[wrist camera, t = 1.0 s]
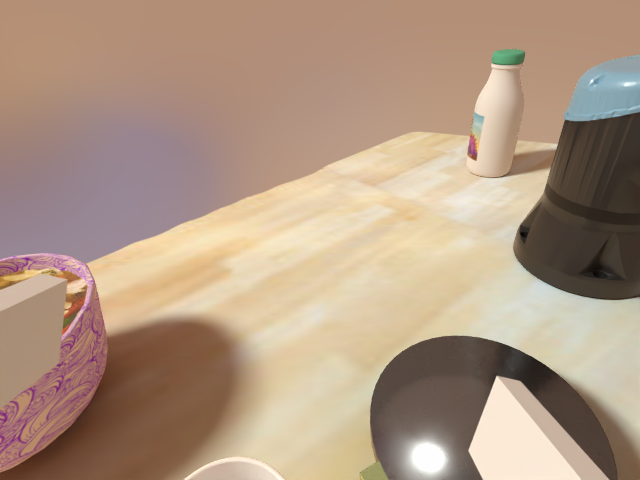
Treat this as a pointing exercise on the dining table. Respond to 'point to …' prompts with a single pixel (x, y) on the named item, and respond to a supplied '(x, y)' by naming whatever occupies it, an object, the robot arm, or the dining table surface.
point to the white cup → (236, 470)
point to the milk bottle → (497, 117)
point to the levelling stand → (462, 408)
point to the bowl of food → (74, 362)
